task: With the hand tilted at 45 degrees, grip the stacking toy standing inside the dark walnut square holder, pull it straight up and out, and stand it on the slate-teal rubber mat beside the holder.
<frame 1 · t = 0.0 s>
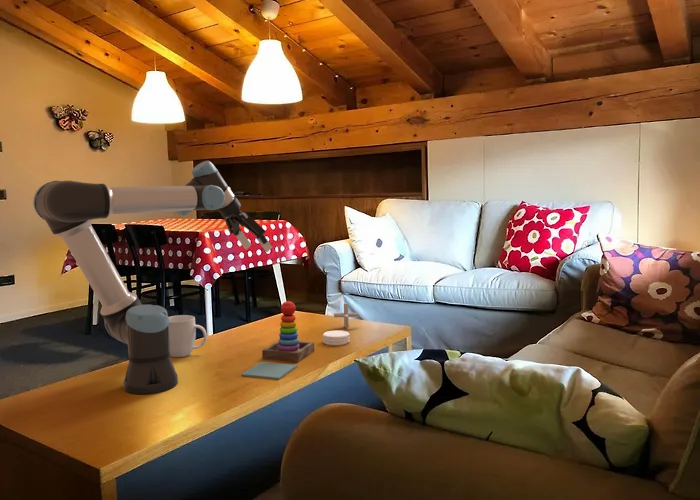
hand: (258, 248, 210), 36 cm above the table, tool tilted 35°, fingers open, 13 cm apart
mug: (183, 355, 204), on the table
holder: (288, 354, 202), on the table
stacking toy: (288, 355, 202), resting in holder
mat: (270, 371, 184), on the table
coaster: (336, 342, 217), on the table
pipe connector: (346, 327, 239), on the table
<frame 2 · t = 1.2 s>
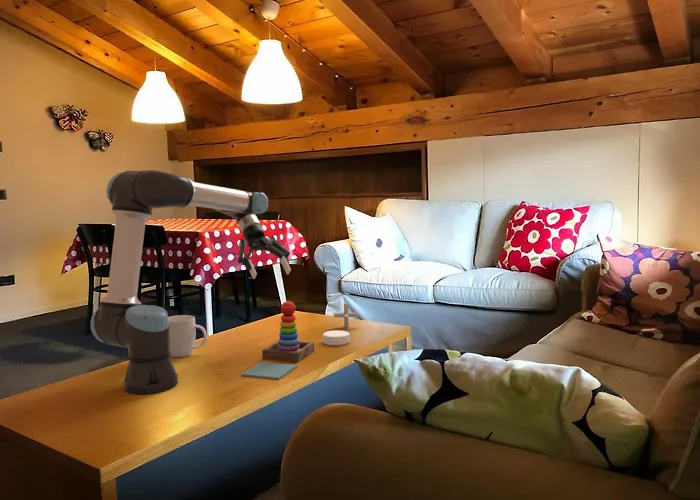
hand: (272, 274, 207), 27 cm above the table, tool tilted 45°, fingers open, 13 cm apart
nothing on the table moved.
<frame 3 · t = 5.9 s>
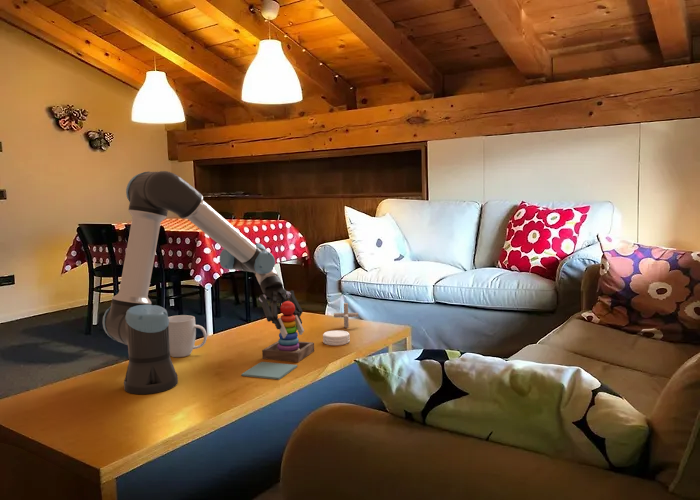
hand: (293, 334, 198), 8 cm above the table, tool tilted 45°, fingers closed on stacking toy, 6 cm apart
stacking toy: (288, 355, 202), resting in holder, touching gripper
everything else where it was.
when the fingers open (10 cm above the table, at t = 12.1 s): stacking toy drops 1 cm, resting on mat.
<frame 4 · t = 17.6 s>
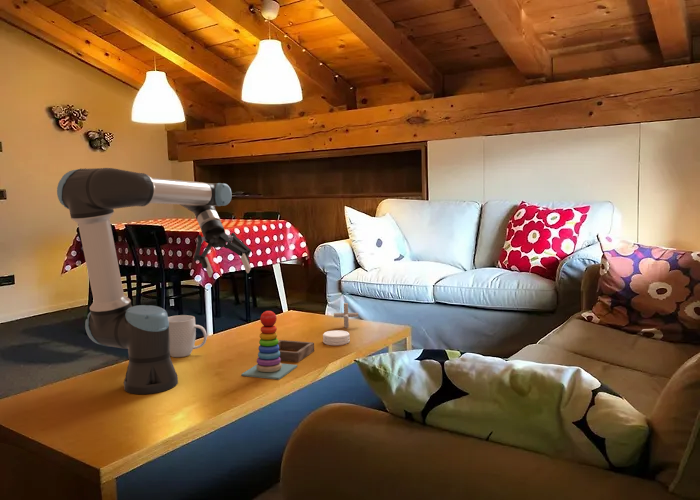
hand: (230, 272, 195), 30 cm above the table, tool tilted 45°, fingers open, 13 cm apart
stacking toy: (269, 370, 184), resting on mat
everything else where it was.
at the end: stacking toy 0.3 cm from the mat (horizontally); stacking toy tilted 0°; the gripper is holding nothing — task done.
